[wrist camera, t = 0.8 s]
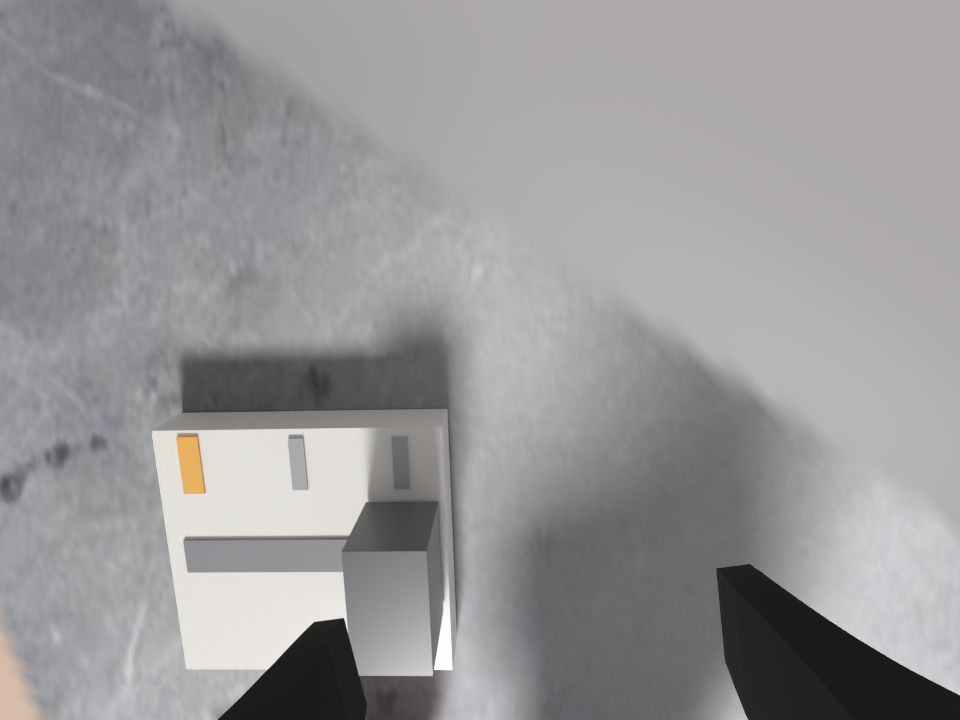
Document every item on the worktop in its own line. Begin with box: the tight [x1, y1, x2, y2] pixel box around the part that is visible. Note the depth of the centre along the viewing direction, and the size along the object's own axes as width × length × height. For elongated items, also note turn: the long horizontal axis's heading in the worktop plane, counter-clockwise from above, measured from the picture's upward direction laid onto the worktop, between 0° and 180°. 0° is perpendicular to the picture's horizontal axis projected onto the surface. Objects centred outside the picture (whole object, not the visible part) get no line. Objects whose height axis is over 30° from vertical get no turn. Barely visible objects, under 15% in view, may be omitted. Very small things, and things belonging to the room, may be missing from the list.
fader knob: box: [341, 501, 443, 676], centre depth 20 cm, size 4×2×3 cm, turn 2°
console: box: [152, 409, 457, 670], centre depth 23 cm, size 9×10×2 cm
